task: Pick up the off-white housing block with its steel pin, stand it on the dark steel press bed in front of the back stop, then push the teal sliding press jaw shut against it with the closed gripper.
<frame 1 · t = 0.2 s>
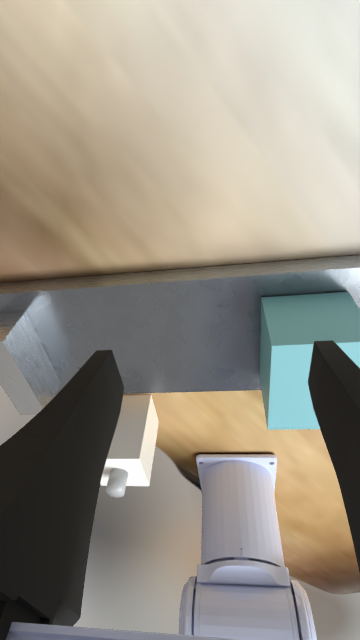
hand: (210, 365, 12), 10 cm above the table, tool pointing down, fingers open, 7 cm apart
press jaw: (306, 362, 20), point 4 cm above the table, slide at 7.0 cm
press bed: (187, 330, 24), on the table
housing block: (133, 409, 30), on the table
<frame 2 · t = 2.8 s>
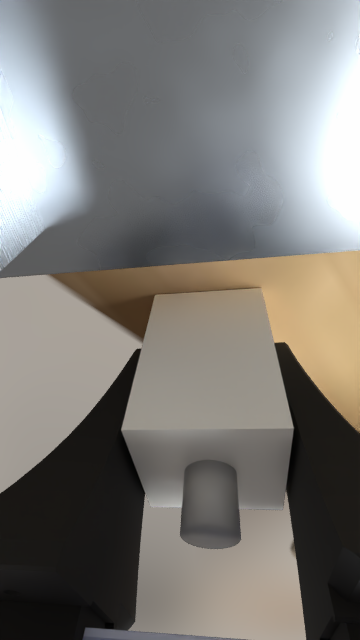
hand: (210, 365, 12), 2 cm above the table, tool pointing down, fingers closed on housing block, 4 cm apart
housing block: (210, 332, 14), on the table, touching gripper
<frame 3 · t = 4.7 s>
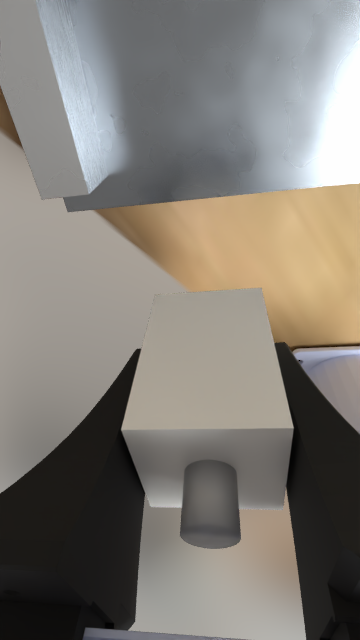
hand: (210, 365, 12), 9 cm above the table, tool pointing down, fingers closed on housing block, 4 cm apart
press bed: (348, 44, 13), on the table
housing block: (210, 332, 14), point 7 cm above the table, touching gripper
when the fingers open (4 cm above the table, at t = 6.9 s): housing block stays where it is, resting on press bed.
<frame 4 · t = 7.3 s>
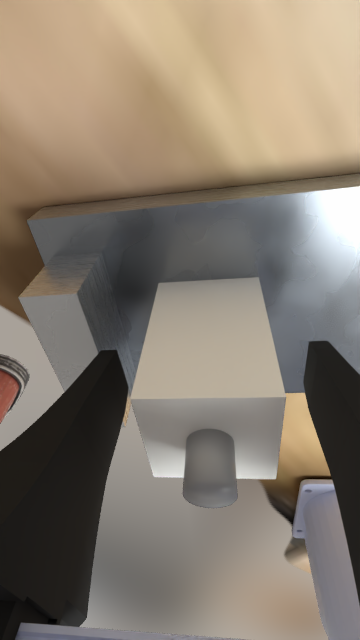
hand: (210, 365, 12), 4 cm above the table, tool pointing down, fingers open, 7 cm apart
press bed: (356, 290, 15), on the table
housing block: (210, 319, 14), point 1 cm above the table, touching press bed
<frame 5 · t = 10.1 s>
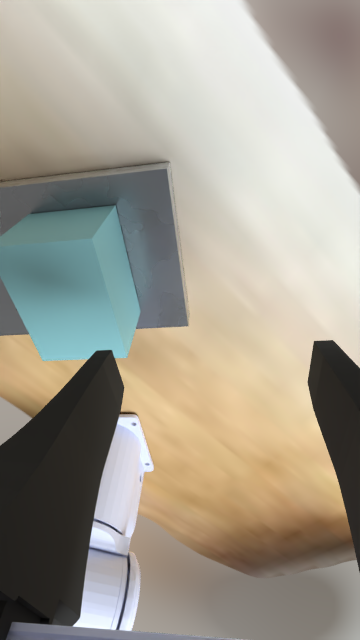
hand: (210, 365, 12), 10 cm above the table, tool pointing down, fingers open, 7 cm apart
press jaw: (77, 285, 18), point 4 cm above the table, slide at 7.0 cm
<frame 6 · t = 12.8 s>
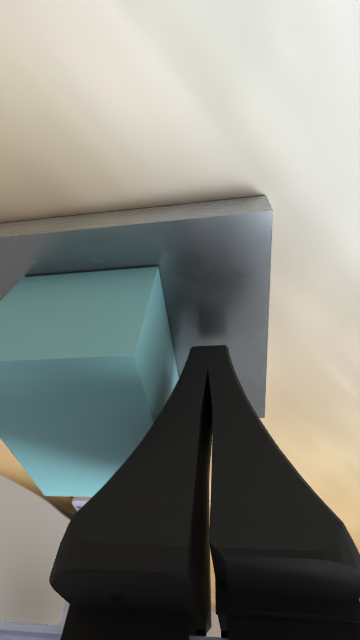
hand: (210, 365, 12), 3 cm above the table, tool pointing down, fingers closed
press jaw: (98, 387, 12), point 4 cm above the table, slide at 6.2 cm, touching gripper
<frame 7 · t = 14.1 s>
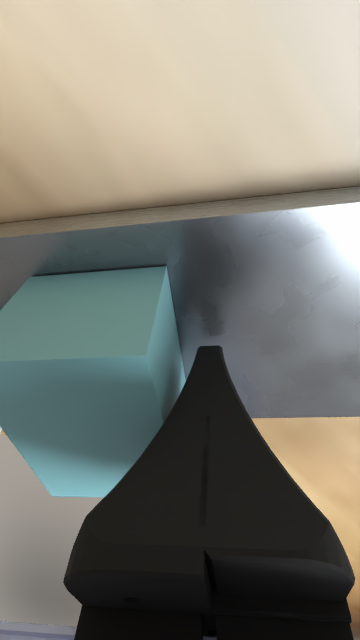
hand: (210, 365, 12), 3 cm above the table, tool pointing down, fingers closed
press jaw: (106, 387, 12), point 4 cm above the table, slide at -0.1 cm, touching gripper
press bed: (118, 323, 15), on the table
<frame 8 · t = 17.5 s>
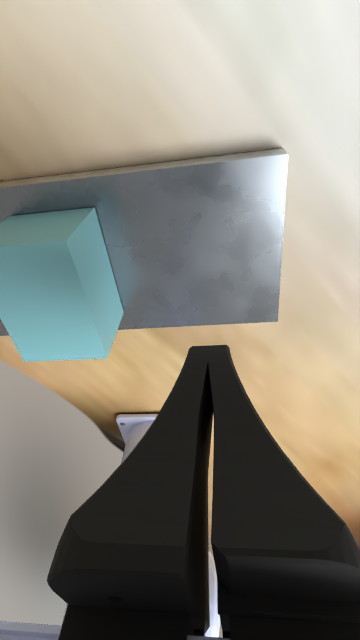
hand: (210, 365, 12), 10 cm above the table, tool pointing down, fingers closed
press jaw: (58, 287, 18), point 4 cm above the table, slide at 0.0 cm
press bed: (72, 257, 22), on the table
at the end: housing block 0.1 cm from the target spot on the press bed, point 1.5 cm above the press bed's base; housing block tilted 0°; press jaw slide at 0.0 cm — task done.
